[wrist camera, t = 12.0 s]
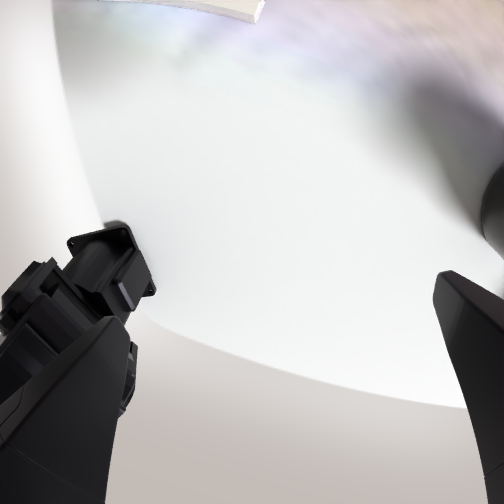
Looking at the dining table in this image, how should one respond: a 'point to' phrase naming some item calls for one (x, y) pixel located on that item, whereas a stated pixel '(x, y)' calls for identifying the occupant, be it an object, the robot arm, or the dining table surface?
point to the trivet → (217, 7)
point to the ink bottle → (494, 213)
